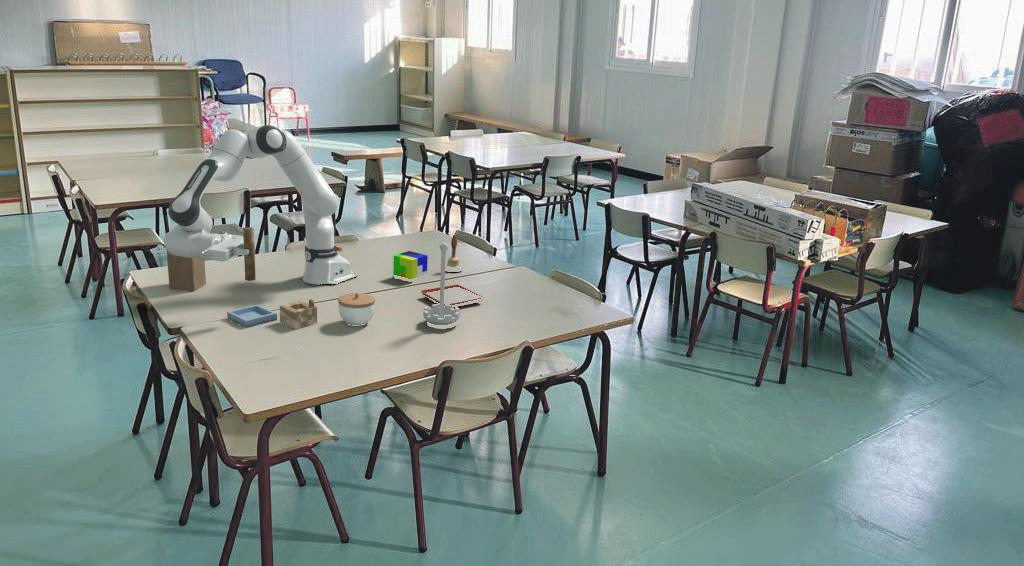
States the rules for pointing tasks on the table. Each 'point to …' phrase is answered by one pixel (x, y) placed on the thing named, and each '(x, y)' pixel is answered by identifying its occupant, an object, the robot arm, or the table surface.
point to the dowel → (250, 258)
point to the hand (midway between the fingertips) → (251, 250)
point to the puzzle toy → (410, 264)
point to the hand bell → (453, 253)
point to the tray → (252, 315)
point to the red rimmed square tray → (446, 288)
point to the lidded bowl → (356, 308)
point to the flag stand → (442, 300)
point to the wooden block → (185, 272)
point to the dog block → (298, 314)
